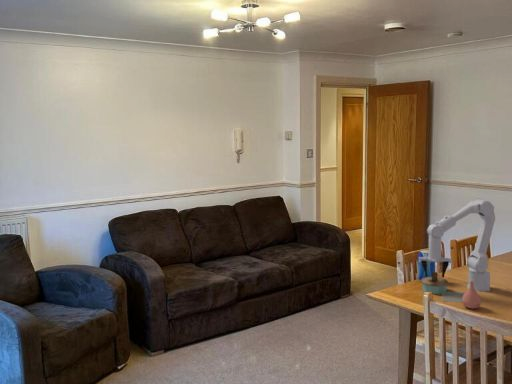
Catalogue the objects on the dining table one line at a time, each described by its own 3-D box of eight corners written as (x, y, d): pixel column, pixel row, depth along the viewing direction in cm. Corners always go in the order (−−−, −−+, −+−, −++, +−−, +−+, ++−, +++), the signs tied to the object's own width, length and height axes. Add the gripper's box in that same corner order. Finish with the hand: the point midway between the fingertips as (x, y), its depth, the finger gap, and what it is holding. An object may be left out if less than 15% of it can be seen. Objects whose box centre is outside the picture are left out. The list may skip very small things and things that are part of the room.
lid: (445, 278, 248) (445, 269, 247) (449, 286, 236) (450, 276, 235) (420, 278, 250) (420, 268, 250) (423, 285, 238) (423, 276, 238)
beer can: (435, 284, 254) (436, 253, 252) (418, 283, 256) (418, 253, 254) (433, 279, 262) (433, 249, 260) (416, 278, 264) (417, 249, 262)
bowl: (445, 288, 248) (445, 279, 247) (447, 295, 237) (447, 286, 237) (421, 286, 251) (422, 278, 250) (423, 294, 240) (423, 285, 240)
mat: (472, 293, 239) (472, 292, 238) (476, 304, 225) (476, 303, 225) (441, 292, 242) (441, 291, 242) (443, 302, 229) (443, 301, 229)
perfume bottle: (474, 304, 225) (474, 278, 223) (484, 310, 217) (485, 283, 216) (458, 306, 223) (458, 280, 222) (468, 312, 216) (468, 285, 214)
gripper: (419, 250, 239) (419, 278, 241) (451, 251, 236) (451, 279, 237) (418, 247, 246) (418, 273, 248) (450, 248, 242) (449, 275, 244)
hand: (434, 276), depth 243 cm, fingers open, 7 cm apart
